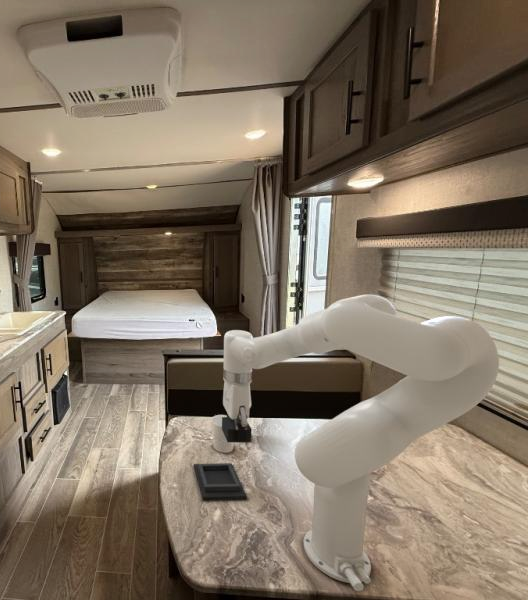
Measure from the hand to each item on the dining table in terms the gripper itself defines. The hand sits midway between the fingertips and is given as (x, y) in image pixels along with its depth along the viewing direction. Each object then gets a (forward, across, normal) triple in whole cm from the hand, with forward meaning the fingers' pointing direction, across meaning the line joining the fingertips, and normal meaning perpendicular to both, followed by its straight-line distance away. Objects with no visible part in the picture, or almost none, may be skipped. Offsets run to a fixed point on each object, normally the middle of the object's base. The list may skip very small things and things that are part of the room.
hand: (235, 433), depth 94 cm
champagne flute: (+16, -24, +9) cm, 30 cm away
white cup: (+16, -18, +1) cm, 24 cm away
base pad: (+16, 0, -5) cm, 17 cm away
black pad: (+1, 0, 0) cm, 1 cm away
